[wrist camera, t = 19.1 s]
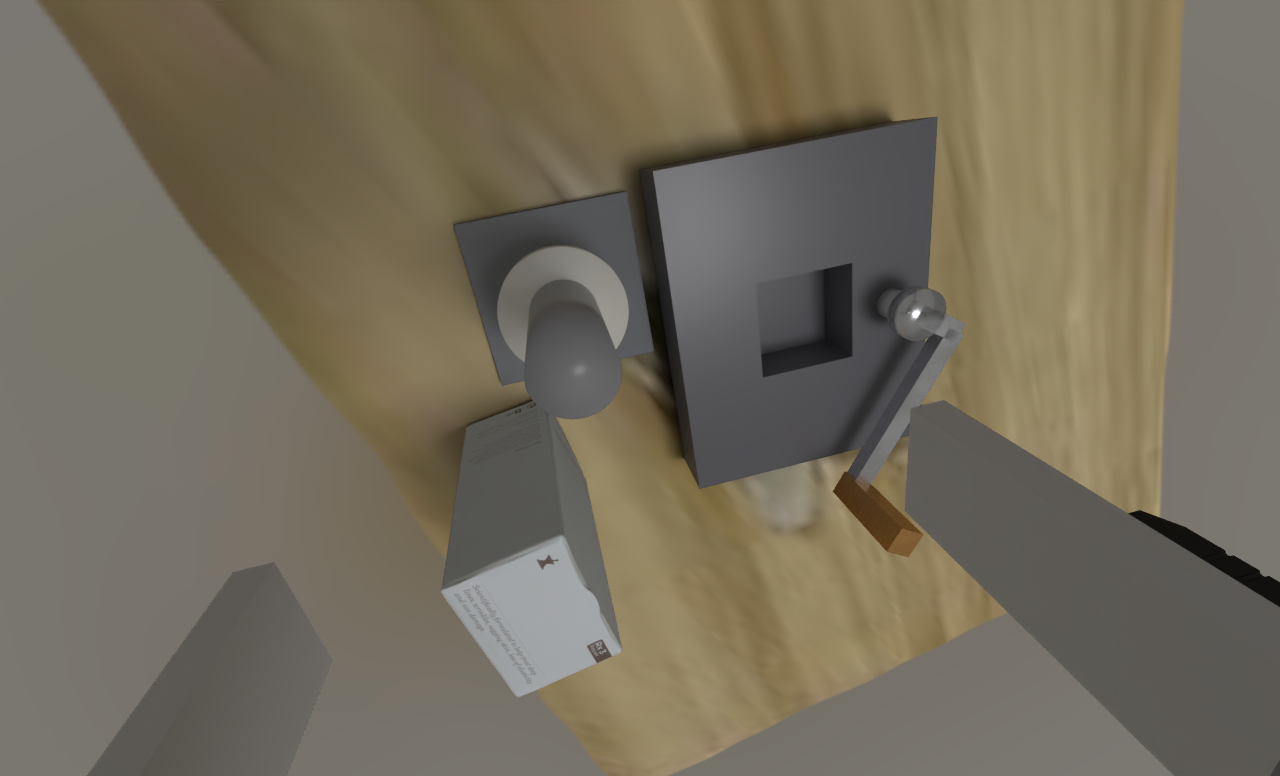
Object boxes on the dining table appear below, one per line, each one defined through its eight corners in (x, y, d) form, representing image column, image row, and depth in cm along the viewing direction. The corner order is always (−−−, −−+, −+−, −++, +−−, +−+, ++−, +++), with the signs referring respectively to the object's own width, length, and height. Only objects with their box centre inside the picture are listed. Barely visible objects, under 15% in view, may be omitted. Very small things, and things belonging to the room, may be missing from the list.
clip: (790, 478, 35) (838, 538, 29) (905, 277, 30) (985, 303, 25) (851, 497, 36) (908, 557, 31) (968, 308, 32) (1057, 338, 27)
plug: (519, 356, 34) (505, 472, 21) (490, 247, 31) (454, 303, 18) (624, 335, 34) (674, 435, 22) (605, 226, 32) (649, 266, 19)
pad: (454, 224, 31) (453, 225, 30) (625, 191, 32) (627, 191, 31) (502, 381, 35) (502, 385, 34) (652, 348, 36) (653, 351, 35)
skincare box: (465, 424, 36) (423, 586, 22) (550, 391, 36) (561, 531, 22) (517, 518, 39) (509, 708, 26) (595, 488, 39) (627, 660, 26)
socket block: (639, 169, 31) (660, 172, 26) (892, 121, 33) (962, 114, 28) (684, 458, 40) (707, 505, 34) (885, 409, 41) (938, 446, 36)
